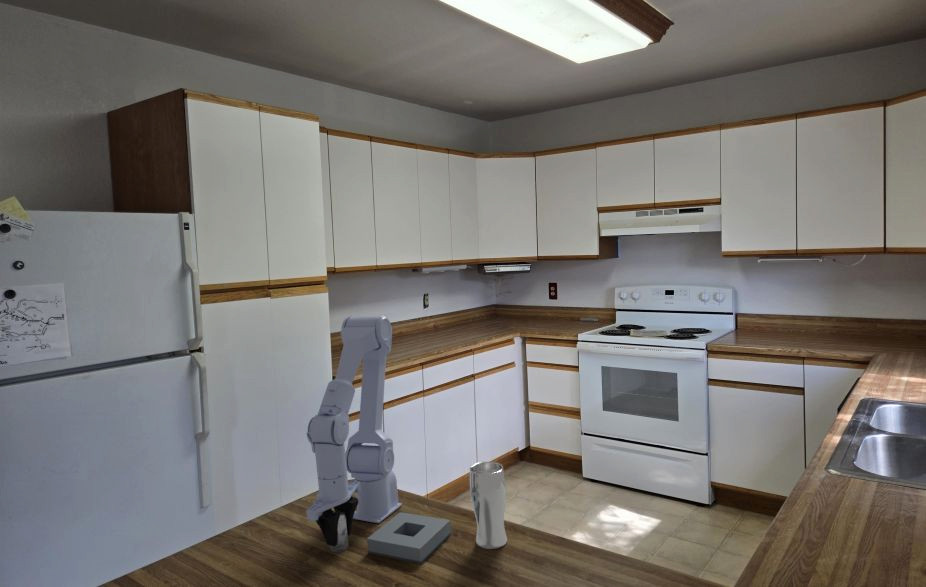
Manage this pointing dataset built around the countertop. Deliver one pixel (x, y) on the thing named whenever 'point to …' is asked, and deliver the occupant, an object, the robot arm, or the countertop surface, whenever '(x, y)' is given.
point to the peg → (341, 533)
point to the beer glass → (488, 503)
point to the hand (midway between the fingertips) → (338, 539)
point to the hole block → (409, 537)
